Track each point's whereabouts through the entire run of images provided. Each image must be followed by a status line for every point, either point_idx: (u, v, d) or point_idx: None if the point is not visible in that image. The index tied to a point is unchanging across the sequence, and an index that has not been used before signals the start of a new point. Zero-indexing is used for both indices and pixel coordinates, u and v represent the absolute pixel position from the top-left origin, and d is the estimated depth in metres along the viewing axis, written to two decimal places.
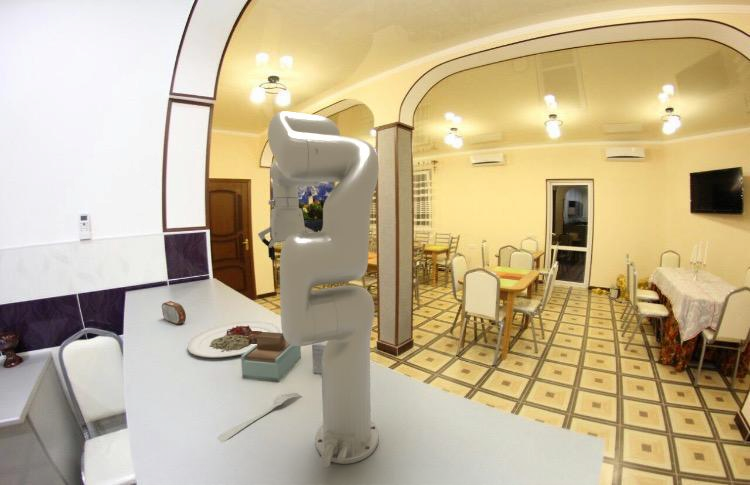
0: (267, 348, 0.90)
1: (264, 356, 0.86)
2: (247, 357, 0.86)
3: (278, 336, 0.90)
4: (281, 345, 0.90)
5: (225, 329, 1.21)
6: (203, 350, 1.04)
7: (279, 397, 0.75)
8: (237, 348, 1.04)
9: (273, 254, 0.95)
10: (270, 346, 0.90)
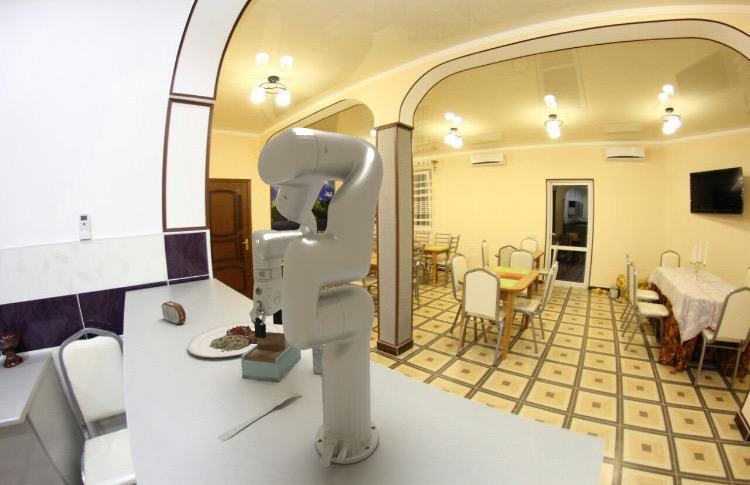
0: (267, 348, 0.90)
1: (264, 356, 0.86)
2: (247, 357, 0.86)
3: (278, 336, 0.90)
4: (281, 345, 0.90)
5: (225, 329, 1.21)
6: (203, 350, 1.04)
7: (279, 397, 0.75)
8: (237, 348, 1.04)
9: (265, 331, 0.86)
10: (270, 346, 0.90)
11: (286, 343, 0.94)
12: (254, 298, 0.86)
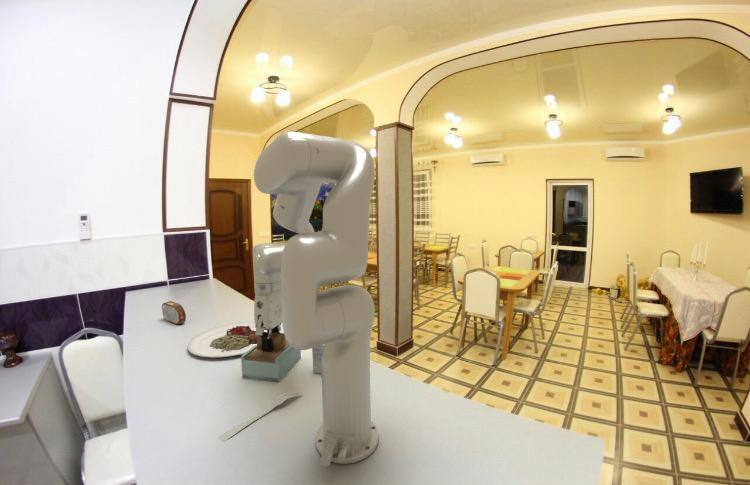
0: None
1: (264, 356, 0.86)
2: (247, 357, 0.86)
3: (278, 336, 0.90)
4: (281, 345, 0.90)
5: (225, 329, 1.21)
6: (203, 350, 1.04)
7: (279, 396, 0.75)
8: (237, 348, 1.04)
9: (272, 345, 0.89)
10: None
11: (286, 343, 0.94)
12: (255, 312, 0.86)
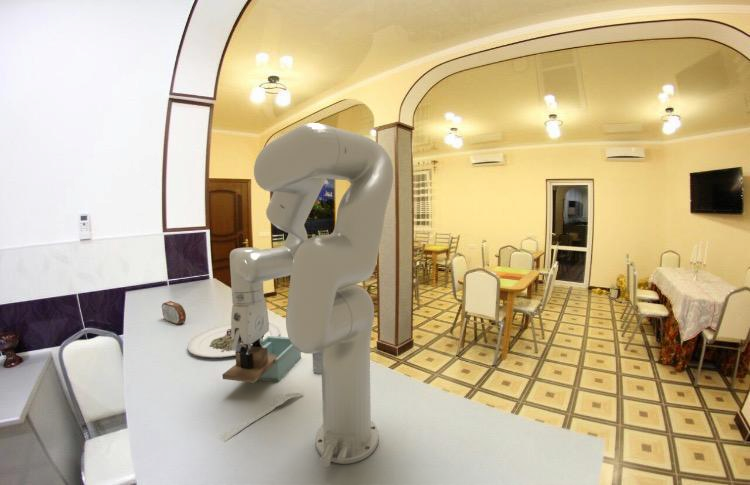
0: None
1: (242, 374, 0.77)
2: (223, 375, 0.77)
3: (259, 351, 0.80)
4: (263, 361, 0.81)
5: (225, 329, 1.21)
6: (203, 350, 1.04)
7: (280, 397, 0.75)
8: None
9: (252, 361, 0.80)
10: None
11: (269, 358, 0.85)
12: (232, 325, 0.76)
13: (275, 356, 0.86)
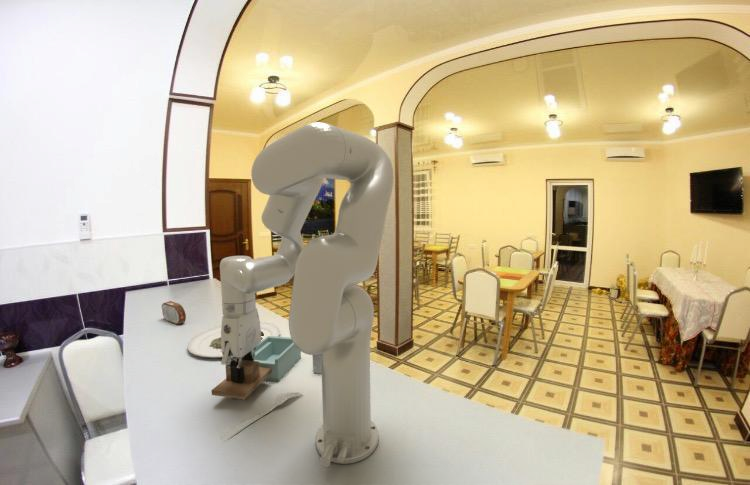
0: None
1: (232, 390, 0.73)
2: (213, 391, 0.74)
3: (250, 365, 0.77)
4: (254, 375, 0.78)
5: None
6: (203, 350, 1.04)
7: (280, 396, 0.75)
8: None
9: (243, 375, 0.76)
10: None
11: (261, 372, 0.82)
12: (222, 337, 0.73)
13: (267, 369, 0.83)
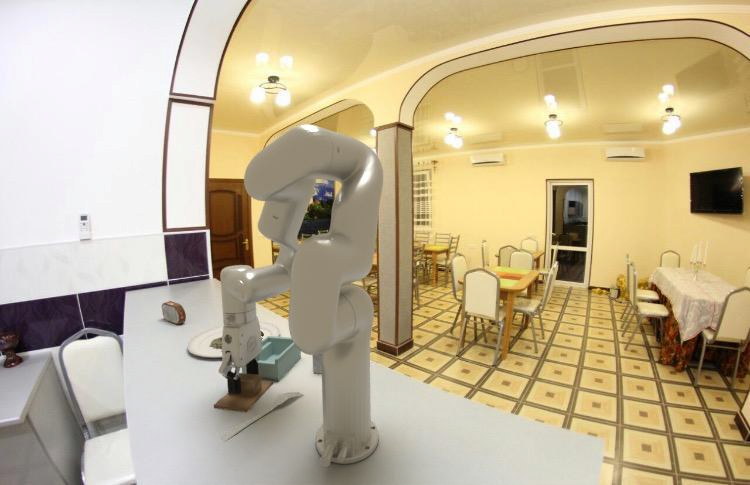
0: None
1: (235, 405, 0.74)
2: (215, 406, 0.74)
3: (252, 379, 0.77)
4: (256, 389, 0.78)
5: None
6: (203, 350, 1.04)
7: (280, 396, 0.75)
8: None
9: (240, 386, 0.75)
10: (243, 391, 0.77)
11: (263, 385, 0.82)
12: (223, 347, 0.73)
13: (269, 382, 0.83)
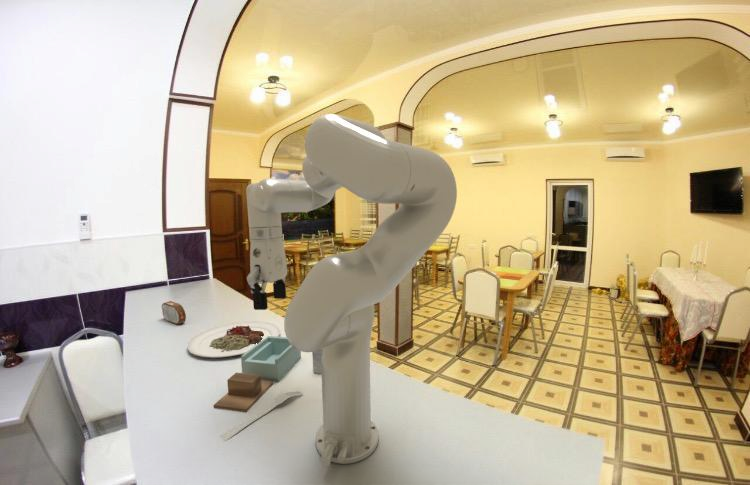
0: (239, 393, 0.77)
1: (234, 405, 0.74)
2: (215, 406, 0.74)
3: (252, 379, 0.77)
4: (256, 389, 0.78)
5: (225, 329, 1.21)
6: (203, 350, 1.04)
7: (280, 396, 0.76)
8: (237, 348, 1.04)
9: (266, 301, 0.72)
10: (243, 391, 0.77)
11: (263, 385, 0.82)
12: (251, 262, 0.72)
13: (269, 382, 0.83)
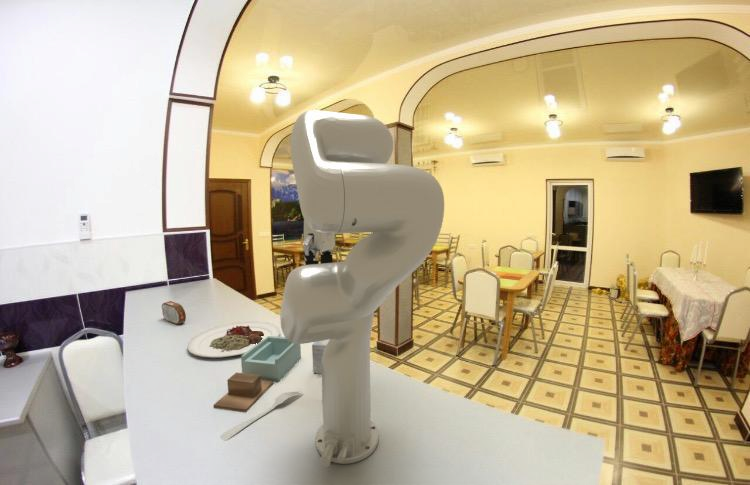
0: (239, 393, 0.77)
1: (234, 405, 0.74)
2: (215, 406, 0.74)
3: (252, 379, 0.77)
4: (256, 389, 0.78)
5: (225, 329, 1.21)
6: (203, 350, 1.04)
7: (281, 396, 0.76)
8: (237, 348, 1.04)
9: None
10: (243, 391, 0.77)
11: (263, 385, 0.82)
12: (305, 230, 0.74)
13: (269, 383, 0.83)
